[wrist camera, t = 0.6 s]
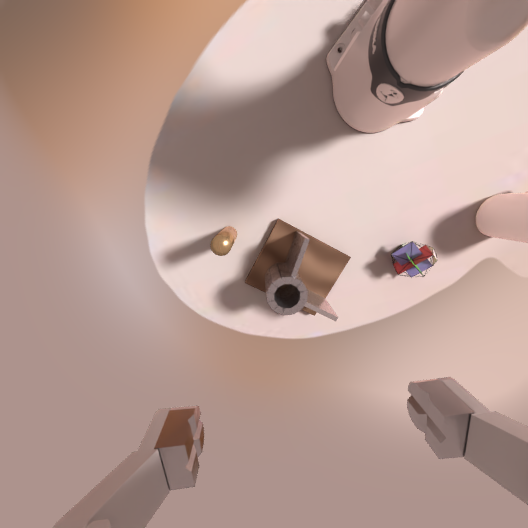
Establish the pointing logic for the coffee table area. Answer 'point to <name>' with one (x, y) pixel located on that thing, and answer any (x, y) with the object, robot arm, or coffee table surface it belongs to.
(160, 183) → the coffee table surface
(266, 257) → the base board
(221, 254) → the pin
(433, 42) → the robot arm
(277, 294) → the grey socket block
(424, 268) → the geometric puzzle
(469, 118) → the coffee table surface
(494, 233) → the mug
